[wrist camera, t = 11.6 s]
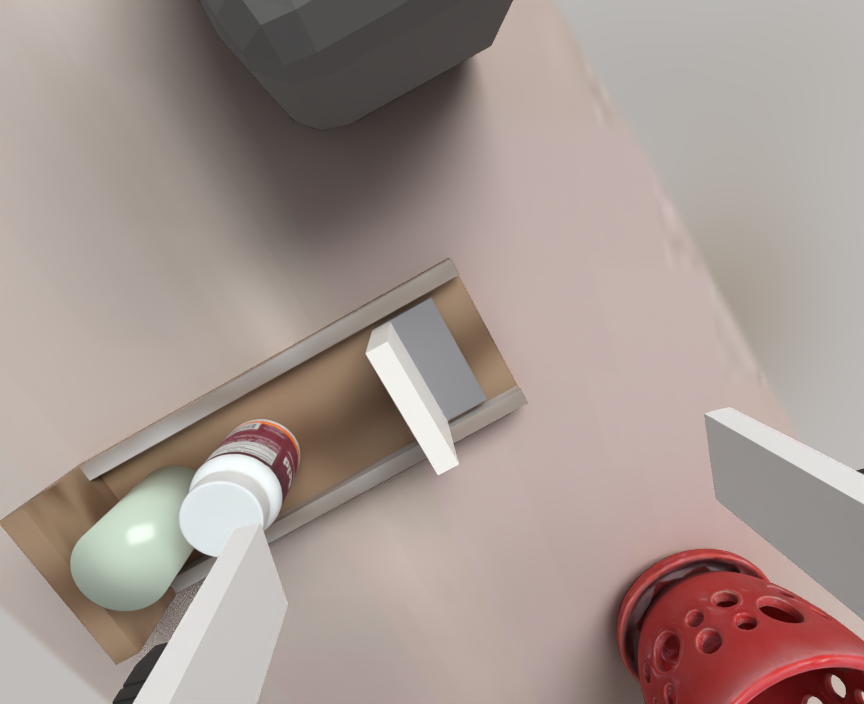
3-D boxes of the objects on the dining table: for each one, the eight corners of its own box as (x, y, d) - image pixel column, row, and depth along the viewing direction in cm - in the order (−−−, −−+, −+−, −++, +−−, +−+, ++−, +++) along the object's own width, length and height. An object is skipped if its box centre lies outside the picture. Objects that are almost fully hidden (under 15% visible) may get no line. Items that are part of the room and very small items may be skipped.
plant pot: (632, 709, 41) (725, 898, 29) (580, 567, 38) (661, 713, 26) (794, 649, 41) (953, 815, 29) (754, 501, 38) (913, 619, 26)
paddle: (372, 329, 32) (365, 353, 26) (430, 296, 32) (439, 312, 25) (430, 427, 34) (437, 475, 27) (485, 397, 34) (508, 437, 27)
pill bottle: (290, 496, 35) (257, 576, 26) (217, 476, 34) (159, 551, 26) (311, 428, 34) (282, 490, 26) (235, 407, 33) (182, 463, 25)
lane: (78, 465, 34) (-2, 522, 27) (448, 258, 33) (461, 263, 26) (169, 584, 36) (116, 664, 30) (521, 393, 35) (550, 431, 28)
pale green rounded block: (120, 489, 34) (49, 552, 27) (188, 451, 34) (133, 505, 27) (166, 550, 35) (110, 626, 28) (232, 514, 35) (191, 582, 28)
